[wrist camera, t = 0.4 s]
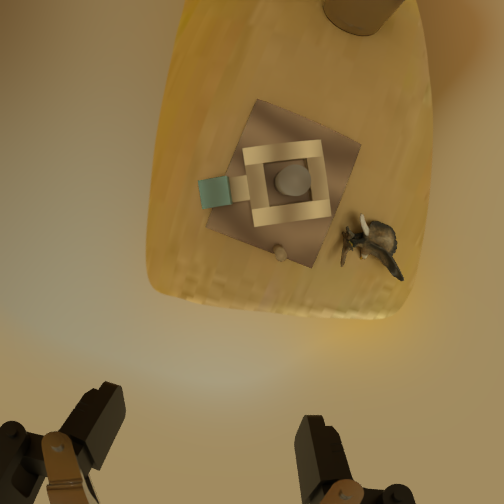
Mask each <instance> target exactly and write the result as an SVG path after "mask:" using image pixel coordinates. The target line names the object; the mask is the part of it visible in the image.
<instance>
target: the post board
mask: <svg viewBox="0 0 504 504" xmlns="http://www.w3.org/2000/svg"><path fill="white" fill-rule="evenodd" d="M308 140H321V144H322V150H323V156H324V163H325V169H326V176H327V183H328V191H329V199H330V207H331V216H330V217H322V218H315V219H307V220H300V221H293V222H286V223H279V224H272V225H265V226H258V227H254V222H253V215H252V208H251V202H250V200H245V201H239V202H234V203H232V204H231V205H224V206H218V207H213V208H212V211H211V213H210V216H209V219H208V222H207V224H206V228H208V229H211V230H214V231H216V232H219V233H222V234H224V235H227V236H229V237H232V238H235V239H237V240H240V241H242V242H245V243H248V244H250V245H253V246H255V247H258V248H261V249H263V250H266V251H268V252H271V253H273V254H275V253H274V251H273V246H274V245H275V244H281V245H282V246H283V248H284V250H285V252H286V254H287V258H286V259H289V260H292V261H294V262H297V263H299V264H302V265H304V266H307V267H309V268H312V267H313V264H314V262H315V260H316V258H317V255H318V253H319V251H320V248H321V246H322V244H323V241H324V239H325V237H326V234H327V232H328V230H329V227H330V225H331V222H332V220H333V218H334V215H335V213H336V210H337V208H338V205H339V203H340V200H341V198H342V195H343V193H344V190H345V188H346V185H347V182H348V180H349V177H350V174H351V172H352V169H353V166H354V164H355V161H356V158H357V156H358V153H359V150H360V147H361V144H360V143H358V142H356V141H354V140H352V139H350V138H348V137H346V136H344V135H342V134H340V133H338V132H336V131H334V130H332V129H330V128H327V127H325V126H323V125H321V124H319V123H317V122H314V121H312V120H310V119H308V118H305V117H303V116H300V115H298V114H296V113H293V112H291V111H288V110H286V109H283V108H281V107H278V106H276V105H273V104H270V103H268V102H265V101H262V100H259V99H257V101H256V103H255V105H254V107H253V110H252V112H251V114H250V116H249V119H248V121H247V123H246V126H245V128H244V130H243V133H242V135H241V138H240V140H239V142H238V145H237V147H236V150H235V152H234V154H233V157H232V159H231V162H230V164H229V167H228V169H227V172H226V174H225V176H228V177H229V178H231V177H237V176H244V175H246V169H245V162H244V156H243V150H242V148H248V147H255V146H262V145H270V144H279V143H288V142H297V141H308ZM263 167H264V174H265V180H266V187H267V194H268V201H269V206H272V205H280V204H287V203H295V202H302V201H310V200H309V192H308V189H309V188H310V185H311V176H310V173H309V172H308V170H307V169H306V168H305V164H304V160H295V161H286V162H278V163H270V164H263Z"/></svg>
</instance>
